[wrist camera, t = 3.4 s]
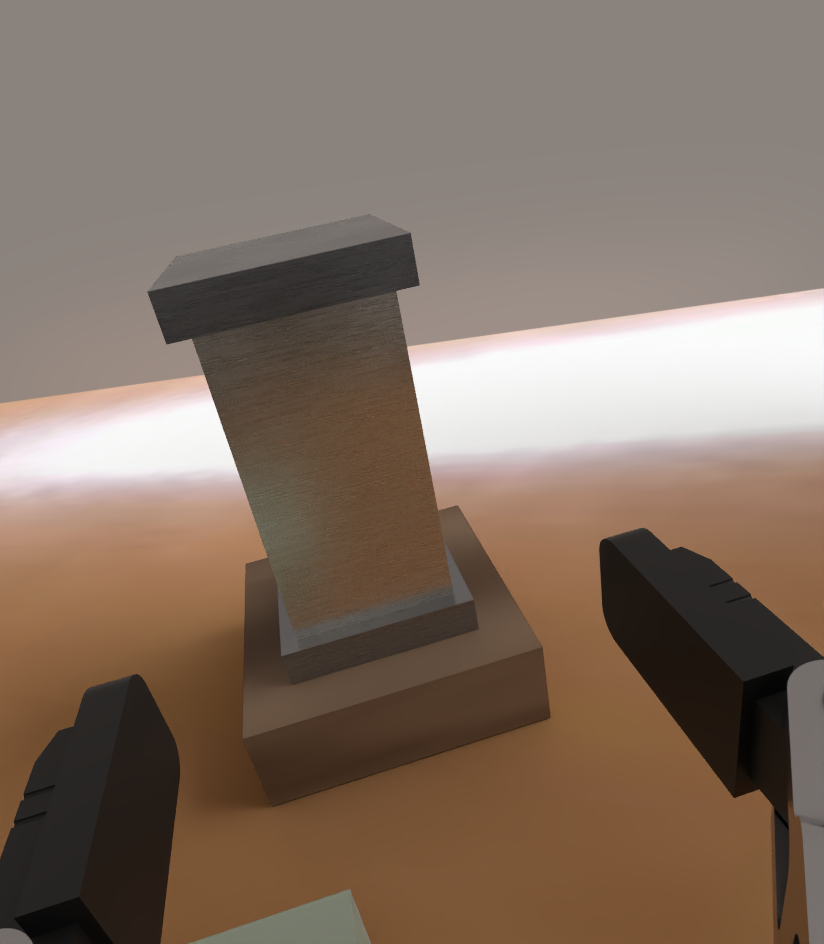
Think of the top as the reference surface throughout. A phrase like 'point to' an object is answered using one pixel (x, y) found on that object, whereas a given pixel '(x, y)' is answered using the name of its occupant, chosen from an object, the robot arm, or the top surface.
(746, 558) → the top surface
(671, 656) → the robot arm
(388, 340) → the grey square pedestal
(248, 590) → the walnut stand
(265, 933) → the green stand
